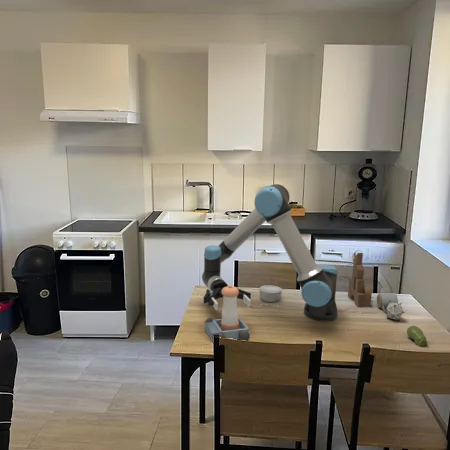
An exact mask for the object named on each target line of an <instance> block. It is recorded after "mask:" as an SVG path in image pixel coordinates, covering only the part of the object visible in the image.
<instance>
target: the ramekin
mask: <svg viewBox="0 0 450 450" xmlns="http://www.w3.org/2000/svg"><path fill="white" fill-rule="evenodd" d="M258 291H259V297H260V299H261V300H262V301H264V302H268V303H275V302H278V301H280V299H281V295H282V293H283V289H282V287H279V286H277V285H270V284H269V285H267V284H266V285H262V286H260V287H259V289H258Z"/></svg>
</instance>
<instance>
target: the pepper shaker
mask: <svg viewBox="0 0 450 450" xmlns="http://www.w3.org/2000/svg"><path fill="white" fill-rule="evenodd" d="M236 287H237V286H234V285H231V284H229V285H228V286H227V287H224V288H223V289H222V291H221V293H222V295H223V297H222V300H223V301H222V310H221V319H222V321H221V330H222V331H227V330H236V329H239V322H238V317H239V310H238V298H237V296H238V294H239V290H238V289H239V288H238V287H237V288H238V289H237V288H236Z"/></svg>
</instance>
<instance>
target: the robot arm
mask: <svg viewBox="0 0 450 450" xmlns="http://www.w3.org/2000/svg"><path fill="white" fill-rule="evenodd" d="M289 201H290V193H289V190H288V189H287V188H286V187H285V186H284V185H282V184H276V183H275V184H271V185H269V186H265V187H263V188H261V189H259V191H257V193H256V195H255V197H254V207H255V208H254V209H253V210H252V211H251V212H250V213H249V214H248V215H246V217H245V218H244V219H243V220H242V221H241V222H240V223H239V224H238V225H237V226H236V227H235V228H234V230H232V231H231V232H230V234H228V235H227V237H225V238H224V239H223V240H222V241H221V243H219V244H218V245H215V244H214V245H213V244H212V245H207V246H205V247H204V254H203V255H204V256H203V257H204V260H203V262H204V266H203V267H204V269H203V272H202V275H201V279H202V282H203V284H204V285H205V286H206V287H207V289H206V292H205V295H204V296H203V304H207V305H208V306H213V308H214V309H215V311H218V310H219V303H218V301H217V300H218V299H223V295H222V293H221V291H222V289H223V288H224V287H227V286H229V285H228V284H227V282H226V281H225V280H224V279H223V278H222V277H221V268H222V267H221V265H222V263H224V261H226V260H228V259H229V258H231V257H232V255H233V254H234V253H235V252H236V251H237V250H238V249H239V248H240V247H241V246H242V245H243V244H244V243H245V242H247V240H248V239H249V238H250V237H251V236H252V235H253V234H254V233H255V232H256V231H257V230H258V229H259V228H260V227H261V226H262V225H263V224H264V223H266V224H269V225H272V227H273V229H274V231H275V232H276V235H277V237H278V239H279V241H280V242H281V244H282V246H283V248H284V250H285V251H286V254H287V255H288V257H289V260H290V261H291V263H292V265H293V267H294V269H295V271H296V273H297V278H296V280H297V283H298V284H299V287H300V289H301V292H300V293H301V298H302V299H303V301H304V302H305V304H304V307H303V314H304V316H305V317H306V318H309V319H311V320H314V321H320V322H331V321H335V320H336V319H337V318H338V316H339V310H338V306H337V304H336V292H337V291H336V290H337V279H338V268H337V267H335V266H333V265H329V264H318V263H316V262H315V260H314V258H313V256H312V253H311V251H310V250H309V248H308V246H307V244H306V243H305V240H304V238H303V236H302V234H301V232H300V231H299V228H298V227H297V225H296V223H295V221H294V219H293V217H292V216H291V214H292V208H291V206H290V204H289ZM235 287H236V288H237V289H238V290H239V294H238V296H237V300H242V301H243V302H244V304H245V305H247V307H248V308H251V302H252V300H251V298H252V297H251V296H252V295H251V294H252V293H251V292H249V291H245V290H243V289H241V288H238V287H237V286H235Z"/></svg>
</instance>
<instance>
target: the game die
mask: <svg viewBox="0 0 450 450" xmlns="http://www.w3.org/2000/svg"><path fill="white" fill-rule="evenodd" d="M389 302H390V303H389V305H388V306H387V308H386V309H385V310H386V312H387V313H386V312H385V313H386V316H387V318H386V319H387V320H388V319H393V320H397V321H398V322H401V320H400V318H401V317H402V315H403V314H404V313H405V312H406V311H404V310H403V307H402V303H403V302H400V303H399V302H398V303H393V302H391V301H390V300H389Z"/></svg>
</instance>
